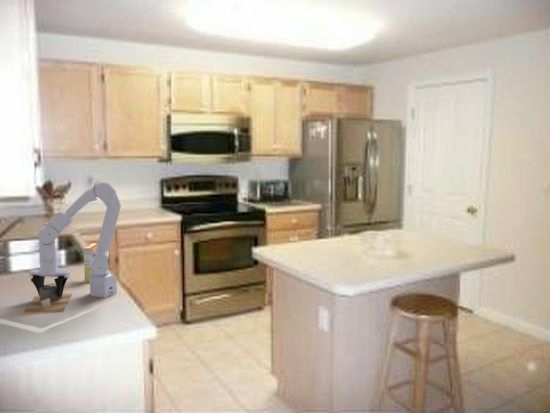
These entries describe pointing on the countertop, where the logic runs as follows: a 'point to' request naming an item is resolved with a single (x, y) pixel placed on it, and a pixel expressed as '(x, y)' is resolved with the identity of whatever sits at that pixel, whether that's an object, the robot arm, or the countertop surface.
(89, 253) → the candy box
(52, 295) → the knob
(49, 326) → the countertop surface
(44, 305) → the speckled beige tile
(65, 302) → the parts board
